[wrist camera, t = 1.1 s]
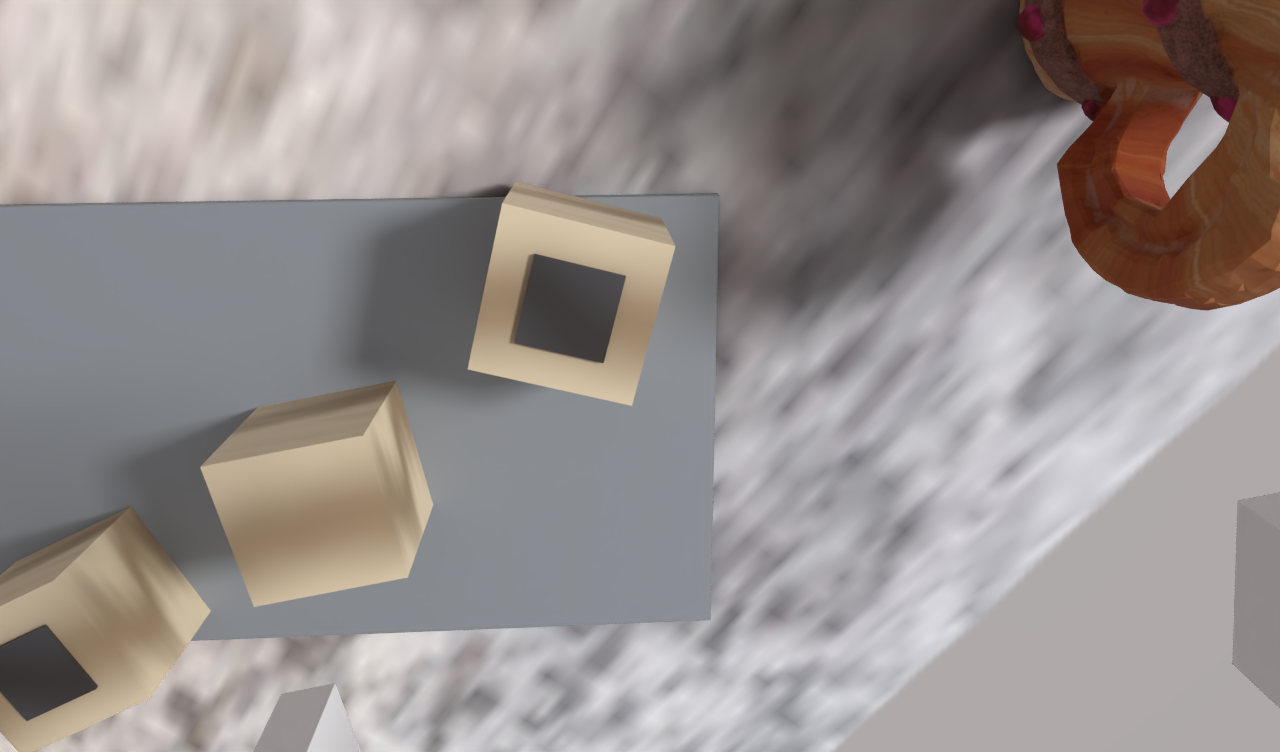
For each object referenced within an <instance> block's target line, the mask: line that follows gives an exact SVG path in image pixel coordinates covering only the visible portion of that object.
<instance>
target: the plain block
mask: <svg viewBox="0 0 1280 752" xmlns="http://www.w3.org/2000/svg"><path fill="white" fill-rule="evenodd" d="M200 468H201V471H202V474H203V476H204V479H205V481H206V484H207V487H208V489H209V492H210V494H211V497H212V500H213V502H214V505H215V507H216V510H217V513H218V515H219V518H220V520H221V523H222V525H223V528H224V531H225V533H226V536H227V538H228V541H229V544H230V546H231V549H232V551H233V554H234V557H235V559H236V562H237V564H238V567H239V570H240V572H241V575H242V577H243V580H244V583H245V585H246V588H247V590H248V593H249V596H250V598H251V601H252V603H253V606H254V607H257V606H262V605H267V604H272V603H278V602H283V601H288V600H293V599H299V598H304V597H309V596H314V595H319V594H325V593H330V592H335V591H340V590H345V589H351V588H356V587H361V586H366V585H372V584H377V583H382V582H387V581H392V580H398V579H403V578H408V575H409V573H410V570H411V567H412V564H413V561H414V558H415V555H416V553H417V550H418V547H419V544H420V541H421V538H422V536H423V533H424V530H425V527H426V524H427V521H428V519H429V516H430V513H431V510H432V507H433V502H432V499H431V496H430V492H429V489H428V485H427V482H426V479H425V475H424V472H423V468H422V465H421V461H420V458H419V455H418V451H417V448H416V444H415V441H414V438H413V434H412V431H411V427H410V424H409V421H408V417H407V414H406V410H405V407H404V404H403V400H402V397H401V393H400V390H399V386H398V383H397V380H396V381H391V382H386V383H380V384H375V385H370V386H365V387H360V388H355V389H349V390H344V391H339V392H334V393H329V394H324V395H318V396H313V397H308V398H303V399H298V400H293V401H287V402H282V403H277V404H272V405H267V406H262V407H258V408H257V409H256V410H255V411H254V412H253V413H252V414H251V415H250V416H249V417H248V418H247V419H246V420H245V421H244V422H243V423H242V424H241V425H240V426H239V427H238V428H237V429H236V430H235V431H234V432H233V433H232V434H231V435H230V436H229V437H228V439H227V440H226V441H225V442H224V443H223V444H222V445H221V446H220V447H219V448H218V449H217V450H216V451H215V452H214V453H213V454H212V455H211V456H210V457H209V458H208V459H207V460H206V461H205V462H204V463H203V464H202V465H201V466H200Z"/></svg>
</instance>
